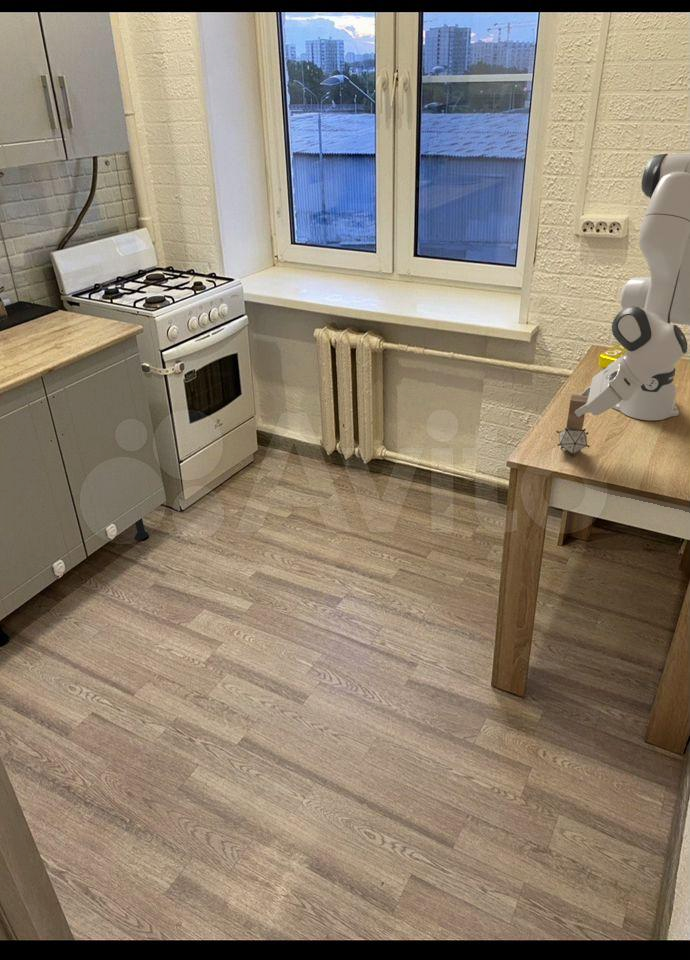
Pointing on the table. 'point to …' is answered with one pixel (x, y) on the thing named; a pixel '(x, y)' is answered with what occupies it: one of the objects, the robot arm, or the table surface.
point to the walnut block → (573, 419)
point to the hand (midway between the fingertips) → (578, 406)
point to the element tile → (611, 355)
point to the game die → (572, 439)
